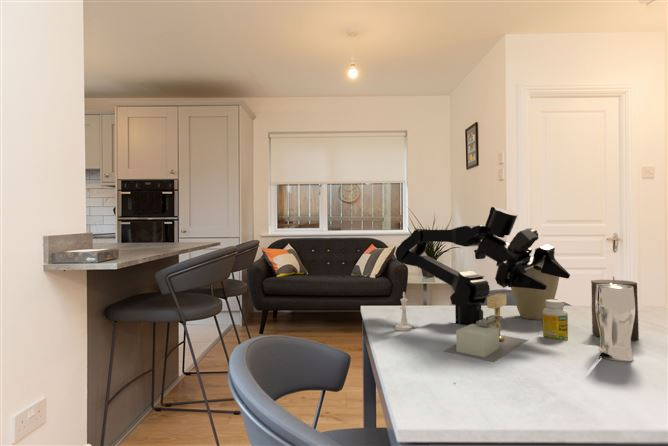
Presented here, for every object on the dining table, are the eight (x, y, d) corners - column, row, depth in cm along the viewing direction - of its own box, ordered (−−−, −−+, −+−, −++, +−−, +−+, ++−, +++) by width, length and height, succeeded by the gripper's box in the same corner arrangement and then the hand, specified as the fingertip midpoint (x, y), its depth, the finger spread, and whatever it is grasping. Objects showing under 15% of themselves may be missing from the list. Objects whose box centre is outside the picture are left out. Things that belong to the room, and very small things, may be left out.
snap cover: (456, 351, 87) (456, 330, 87) (472, 343, 93) (472, 323, 93) (484, 357, 83) (484, 335, 83) (499, 348, 88) (498, 327, 89)
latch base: (442, 356, 87) (442, 350, 87) (482, 336, 103) (482, 332, 103) (493, 368, 80) (493, 361, 80) (528, 345, 95) (528, 339, 95)
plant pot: (572, 322, 117) (571, 267, 118) (520, 322, 118) (519, 267, 118) (545, 312, 132) (545, 262, 133) (499, 312, 133) (499, 263, 133)
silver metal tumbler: (588, 352, 89) (587, 283, 89) (618, 351, 90) (617, 283, 90) (612, 363, 82) (611, 288, 82) (644, 361, 83) (643, 287, 83)
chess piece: (414, 327, 113) (414, 291, 114) (412, 331, 109) (411, 293, 109) (397, 326, 115) (396, 290, 115) (393, 330, 110) (393, 293, 110)
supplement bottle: (550, 336, 103) (549, 298, 103) (572, 341, 98) (571, 301, 99) (538, 339, 100) (537, 300, 100) (560, 344, 95) (560, 303, 96)
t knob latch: (475, 345, 90) (474, 299, 90) (496, 334, 99) (496, 293, 99) (488, 348, 88) (488, 301, 88) (509, 336, 97) (508, 294, 97)
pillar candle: (640, 343, 96) (639, 279, 96) (591, 337, 101) (590, 277, 101) (636, 334, 104) (635, 275, 104) (591, 329, 109) (590, 273, 110)
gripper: (483, 232, 98) (543, 263, 86) (531, 216, 107) (591, 242, 95) (474, 271, 103) (529, 305, 91) (521, 253, 112) (576, 281, 100)
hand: (558, 282), depth 94 cm, fingers open, 9 cm apart
